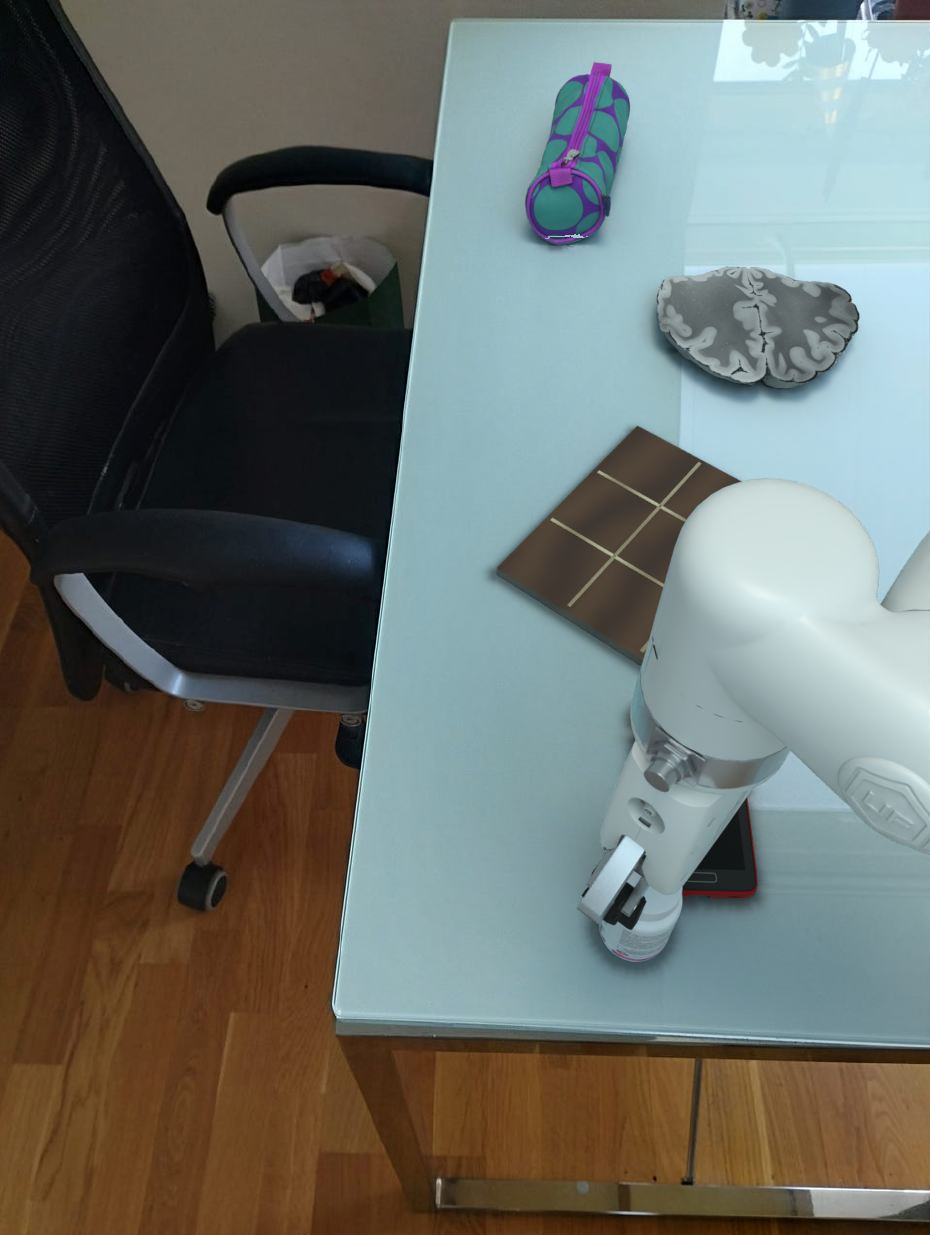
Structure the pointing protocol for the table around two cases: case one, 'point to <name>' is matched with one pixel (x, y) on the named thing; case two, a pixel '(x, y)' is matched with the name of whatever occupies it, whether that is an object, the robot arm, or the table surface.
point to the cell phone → (727, 863)
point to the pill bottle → (644, 926)
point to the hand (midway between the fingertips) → (657, 847)
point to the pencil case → (579, 157)
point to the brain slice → (757, 324)
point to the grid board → (615, 540)
